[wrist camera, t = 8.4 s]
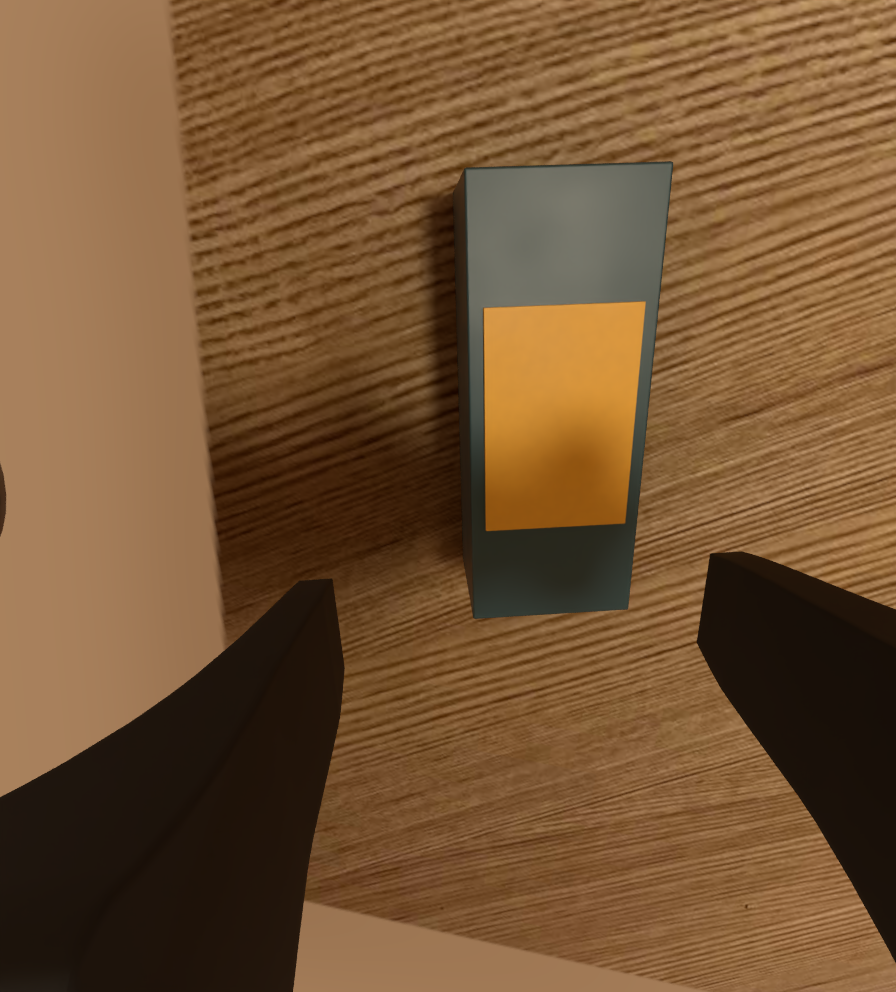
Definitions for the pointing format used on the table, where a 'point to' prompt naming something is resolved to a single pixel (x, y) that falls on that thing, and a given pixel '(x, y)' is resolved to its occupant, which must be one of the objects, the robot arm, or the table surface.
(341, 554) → the table surface
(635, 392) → the packet
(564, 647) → the table surface
